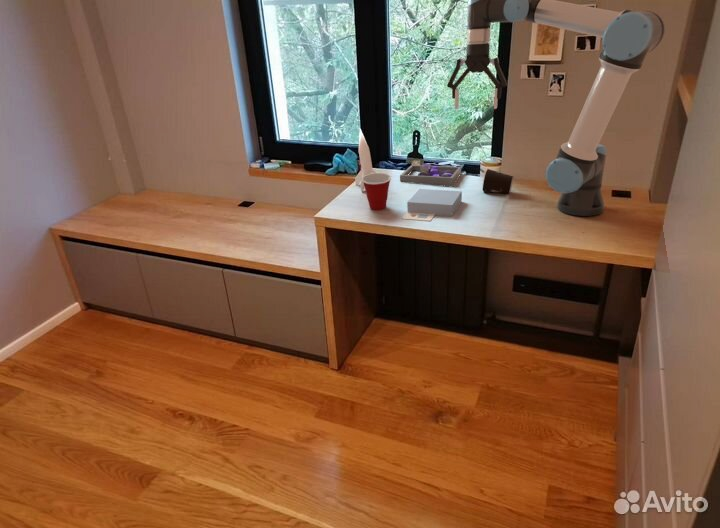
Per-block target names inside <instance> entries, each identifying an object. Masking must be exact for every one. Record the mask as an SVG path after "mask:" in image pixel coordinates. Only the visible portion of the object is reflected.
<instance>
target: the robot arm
mask: <svg viewBox="0 0 720 528" xmlns="http://www.w3.org/2000/svg"><path fill="white" fill-rule="evenodd" d="M467 1H468V2H467V7H466V8H467V26H466V27H467V28H466V29H467V30H466V31H467V32H466V43H467V44H466V55H465V56H466V58H465V59H464V58H463V59H462V58H457V59H456V65H455V68H454V70H453V72H452V75H451V76H450V78H449V80H448V82H447V85H446V87H447V88H449V89H451V92H452V93H451V95H452V96H451V97H452V99H454V109H459V102H460V101H459V97H460V88H458V86H459V85H460V84H461V83H462V82H463V80H464V79H466V77H467V76H468V74H469V73H473V74H474V73H483V72H484V74H486V75H487V77H488V78H489V79H490V81H491V82H492V83H493V85H495V87H496V88H495V89H494V95H493V96H494V99H493V102H494V103H493V109H494V110H496V109H497V108H498V100H499V99H501V97H502V88H505V87H507V85H508V81H507V80H506V77H505V75H504V73H503V70H502V68H501V66H500V60H499V59H500V58H499V57H498V56H497V57H493V58H490V47H491V46H490V43H489V42H490V40H491V24H493V23H517V22H522V21H523V22H524V21H525V22H529V23H531V24H532V23H533V24H540V25H544V26H549V27H552V28H557V29H562V30H565V31H566V30H567V31H570V32H576V33H579V34H584V35H588V36H594V37H597V38H601V41H602V42H601V43H602V50H601V51H600V53H599V56H598V60H599V62H600V67H599V70H598V72H597V75H596V77H595V79H594V81H593V83H592V87H591V88H590V91H589V93H588V95H587V97H586V100H585V102H584V105H583V107H582V109H581V112H580V114H579V116H578V119H577V120H576V123H575V125H574V127H573V130H572V132H571V133H570V136H569V138H568V141H567V142H564V143H562V144H561V145H560V148H559V150H558V152H557V154H556V157H555V159H554V160H552V161H551V162H549V164H548V166H547V167H546V170H545V180H546V181H547V183H548V185H549V187H550V188H552V189H553V191H555V192H557V193H560V197H559V199H558V201H557V209H558V211H560V212H562V213H563V214H564V213H565V214H568V215H571V216H582V217H585V216H586V217H588V216H596V215H600V214H602V213H603V212H604V208H605V202H604V196H603V193H602V185H603V180H604V179H603V178H604V171H605V164H606V158H607V147H606V146H605V145H603V144H601V143H600V142H601V140H602V137H603V135H604V134H605V131H606V130H607V127H608V124H609V122H610V120H611V118H612V116H613V114H614V112H615V110H616V108H617V106H618V103H619V102H620V100H621V97H622V95H623V93H624V91H625V89H626V87H627V84H628V82H629V80H630V78H631V77H632V75H633V73H637V72H638V71H641V68H642V66H643V64H644V62H645V60H646V58H647V55H649V54H648V53H651V52H652V51H654V50H656V49H657V47H659V45H660V44H661V43H662V41H663V39H664V36H665V34H666V25H665V21H664V19H663V17H661V16H660V14H658V13H656V12H655V11H652V10H642V11H640V10H637V11H636V10H630V9H624V10H622V11H614V10H608V9H604V8H598V7H594V6H588V5H584V4H583V5H582V4H577V3H571V2H565V1H561V0H467ZM490 63H491V64H492V66H494V69H495V71H496V73H497V76H498V78H499V80H500V81H499V80H498V78H496V76H495V75H494V73H493V72H492V70H491V69H490V67H489V65H490ZM464 64H465V66H466V69H465V70H464V72H463V73H461V75H460V76H459V78H458V79H457V80H456V77H457V76H458V73H459V72H460V69H461V67H462V66H463V65H464ZM455 80H456V81H455Z"/></svg>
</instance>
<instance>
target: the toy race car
mask: <svg viewBox="0 0 720 528" xmlns="http://www.w3.org/2000/svg"><path fill="white" fill-rule="evenodd" d="M422 165H423V166H420V171H419V173H418V174H417V176H435V177H451V176H452V175H453V174H452V172H451V171H449V170H447V171H445V172H444V173H440V172H439V171H438V166H439V165H433V166H434V167H433V168H432V167H431V166H432V164H431V163H422Z"/></svg>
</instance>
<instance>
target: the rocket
mask: <svg viewBox="0 0 720 528" xmlns="http://www.w3.org/2000/svg"><path fill="white" fill-rule="evenodd" d="M358 139H359V140H358V151H357V152H358V154H359V156H358V157H359V162H360V167H361V169H360V171H359V172H358V173H357V174H356V177H355V178H354V181H355V185H358V186H359V185H360V191H361V192H364V189H365V186H364V183H363V181H362V177H363V176H365V175H368V174H372V173H377V172H376V170H374V169H373V165H372V164H373V163H372V157H371V152H370V148H369V145H368V143H367V141H366V138H365V136H364V133H363V131H362V129H361V128H359V137H358Z"/></svg>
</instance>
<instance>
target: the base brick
mask: <svg viewBox="0 0 720 528" xmlns="http://www.w3.org/2000/svg"><path fill="white" fill-rule="evenodd" d="M462 193H463V192H462V190H446V189H445V190H444V189H431V188H430V189H429V188H427V189H426V188H418V189H417V191H416V192H415V193H414V194H413V195H412V197H411V198H409V200H407V206H406V208H407V212H411V213H424V214H435V216H445V217H453V215H454V214H455V213H456V211H457V210H458V208H459V206H460V205H461V203H462Z"/></svg>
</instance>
